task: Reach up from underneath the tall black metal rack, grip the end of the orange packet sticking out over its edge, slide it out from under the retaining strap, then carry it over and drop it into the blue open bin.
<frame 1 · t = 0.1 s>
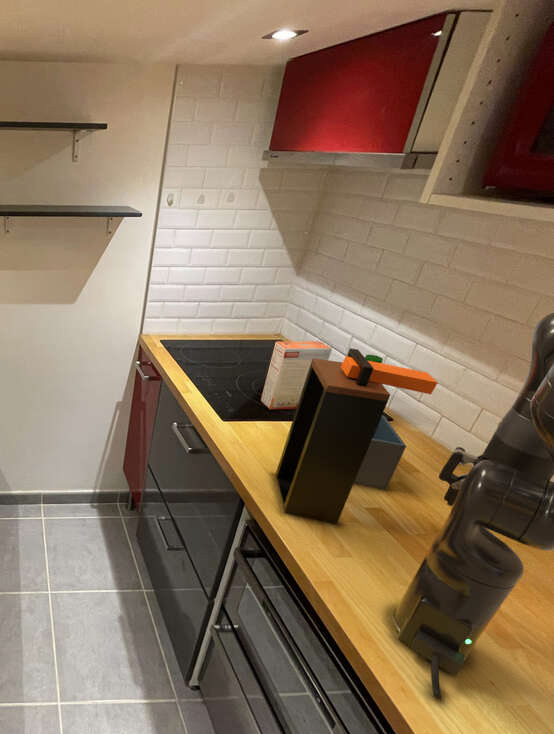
hand: (483, 517, 74), 17 cm above the worktop, tool pointing down, fingers open, 8 cm apart
packet: (383, 380, 87), point 32 cm above the worktop, touching rack
rack: (303, 498, 102), on the worktop
milk carton: (346, 419, 133), on the worktop
cracker box: (285, 405, 140), on the worktop
blue open bin: (345, 466, 113), on the worktop
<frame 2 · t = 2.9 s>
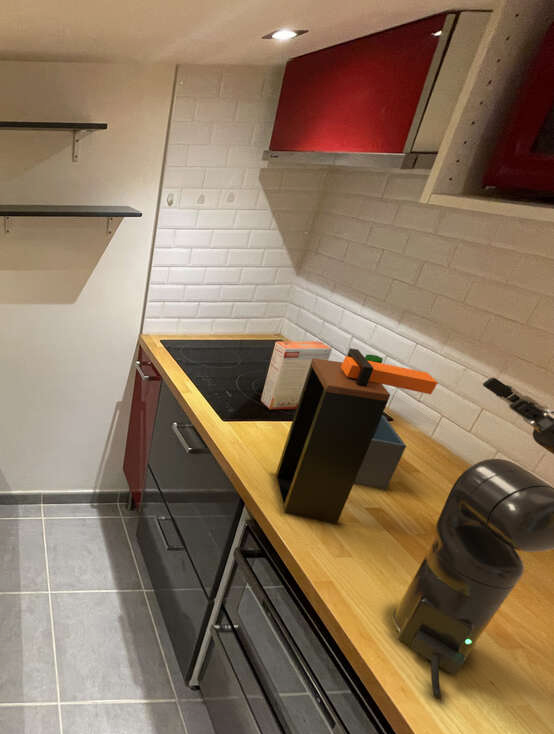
hand: (501, 391, 81), 33 cm above the worktop, tool pointing upward, fingers open, 8 cm apart
nothing on the worktop moved.
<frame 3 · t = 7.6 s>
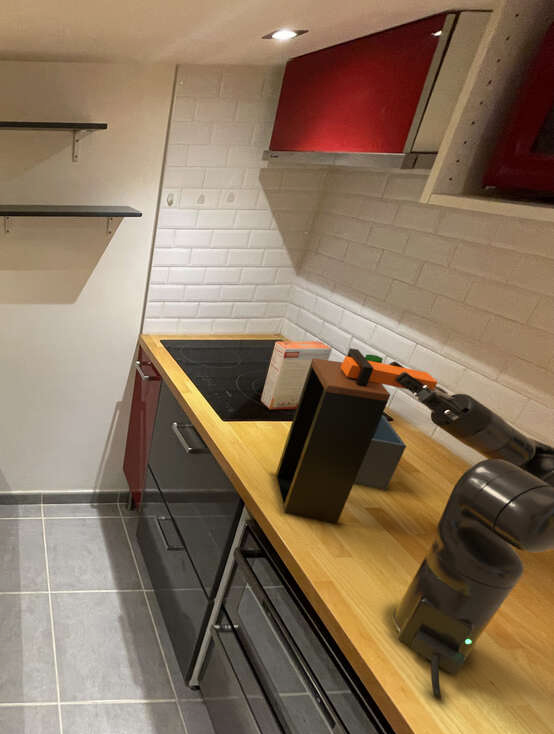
hand: (395, 370, 86), 34 cm above the worktop, tool pointing upward, fingers closed on packet, 4 cm apart
packet: (383, 380, 87), point 32 cm above the worktop, touching gripper, rack
everything else where it was.
when the fingers open (26 cm above the worktop, at t = 19.6 s): packet drops 11 cm, resting on blue open bin.
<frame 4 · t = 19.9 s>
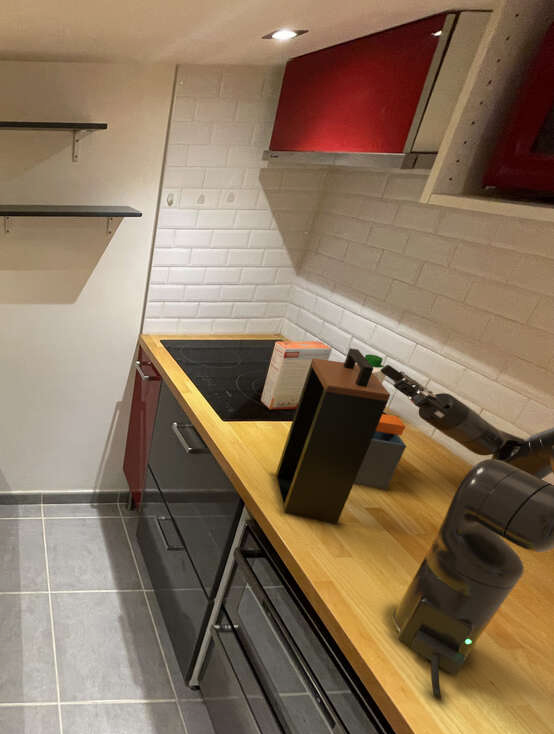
hand: (390, 375, 101), 26 cm above the worktop, tool pointing upward, fingers open, 7 cm apart
packet: (363, 424, 108), point 13 cm above the worktop, touching blue open bin
everything else where it was.
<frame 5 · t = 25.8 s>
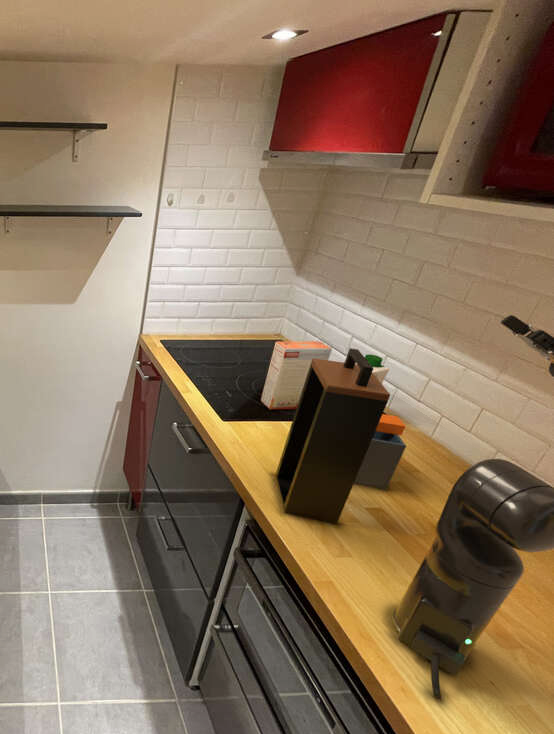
hand: (519, 325, 84), 43 cm above the worktop, tool pointing upward, fingers open, 8 cm apart
nothing on the worktop moved.
at the end: packet inside the target area in the blue open bin (0.2 cm from its centre), point 12.6 cm above the blue open bin's base; the gripper is holding nothing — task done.
